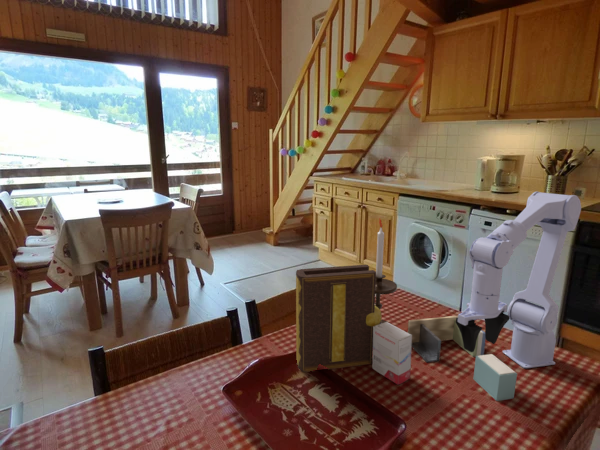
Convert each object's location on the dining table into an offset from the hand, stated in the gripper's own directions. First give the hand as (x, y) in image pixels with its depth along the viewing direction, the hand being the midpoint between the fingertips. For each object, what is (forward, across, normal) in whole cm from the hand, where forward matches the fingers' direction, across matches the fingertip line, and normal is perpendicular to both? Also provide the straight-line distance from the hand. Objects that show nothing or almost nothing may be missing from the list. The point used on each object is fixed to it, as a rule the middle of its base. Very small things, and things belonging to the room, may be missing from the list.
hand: (479, 345), depth 86 cm
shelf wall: (+10, -7, -19) cm, 22 cm away
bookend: (+10, +1, -16) cm, 18 cm away
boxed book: (+10, -2, +3) cm, 11 cm away
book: (+10, +24, -23) cm, 35 cm away
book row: (+10, -12, -12) cm, 20 cm away
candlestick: (+10, +3, -33) cm, 34 cm away
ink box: (+10, +15, -12) cm, 22 cm away
